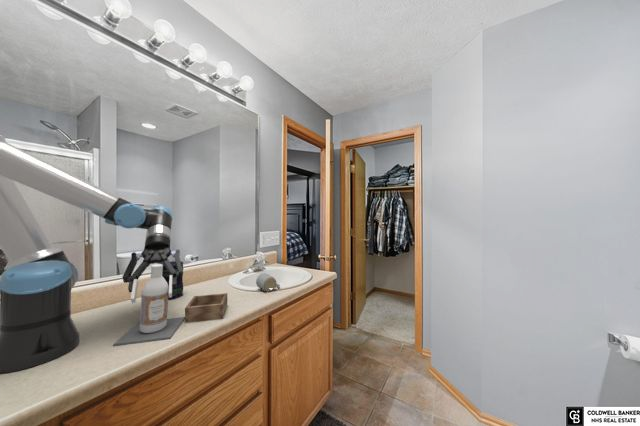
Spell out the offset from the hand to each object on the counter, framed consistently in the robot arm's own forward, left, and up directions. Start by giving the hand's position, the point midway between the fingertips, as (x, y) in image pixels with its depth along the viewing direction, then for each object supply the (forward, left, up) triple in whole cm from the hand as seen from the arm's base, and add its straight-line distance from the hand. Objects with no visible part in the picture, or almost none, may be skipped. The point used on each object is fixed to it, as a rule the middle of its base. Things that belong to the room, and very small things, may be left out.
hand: (152, 298), depth 69 cm
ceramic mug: (+36, +35, -12) cm, 51 cm away
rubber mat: (-1, +3, -11) cm, 12 cm away
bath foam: (-1, +3, -11) cm, 11 cm away
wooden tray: (+13, +12, -11) cm, 21 cm away
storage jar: (-7, +36, -11) cm, 38 cm away
